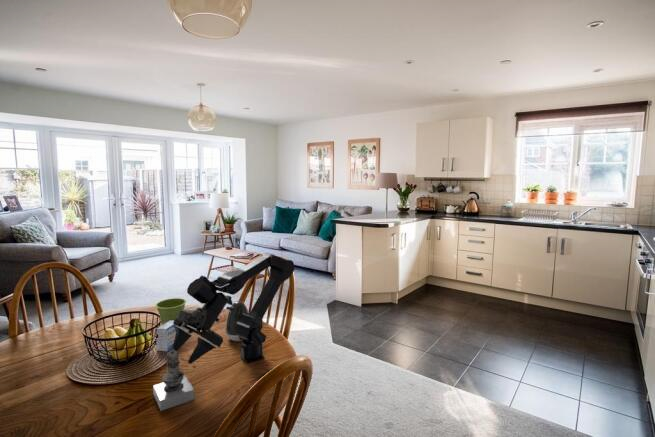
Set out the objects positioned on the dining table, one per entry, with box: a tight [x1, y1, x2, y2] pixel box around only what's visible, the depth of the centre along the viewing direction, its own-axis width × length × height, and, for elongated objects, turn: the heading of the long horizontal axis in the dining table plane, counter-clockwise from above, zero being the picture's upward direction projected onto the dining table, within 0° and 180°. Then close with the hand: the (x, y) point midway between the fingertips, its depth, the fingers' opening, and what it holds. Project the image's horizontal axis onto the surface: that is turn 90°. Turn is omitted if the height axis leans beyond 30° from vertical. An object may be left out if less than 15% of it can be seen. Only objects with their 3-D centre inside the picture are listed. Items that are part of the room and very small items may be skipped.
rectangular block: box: [152, 375, 195, 412], centre depth 104 cm, size 9×9×3 cm
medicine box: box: [156, 321, 176, 352], centre depth 135 cm, size 8×4×9 cm, turn 168°
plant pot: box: [155, 297, 187, 326], centre depth 151 cm, size 12×12×11 cm
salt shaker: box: [161, 348, 185, 393], centre depth 104 cm, size 6×6×12 cm
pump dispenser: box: [224, 300, 250, 342], centre depth 142 cm, size 10×10×15 cm
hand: (180, 358), depth 105 cm, fingers open, 9 cm apart
